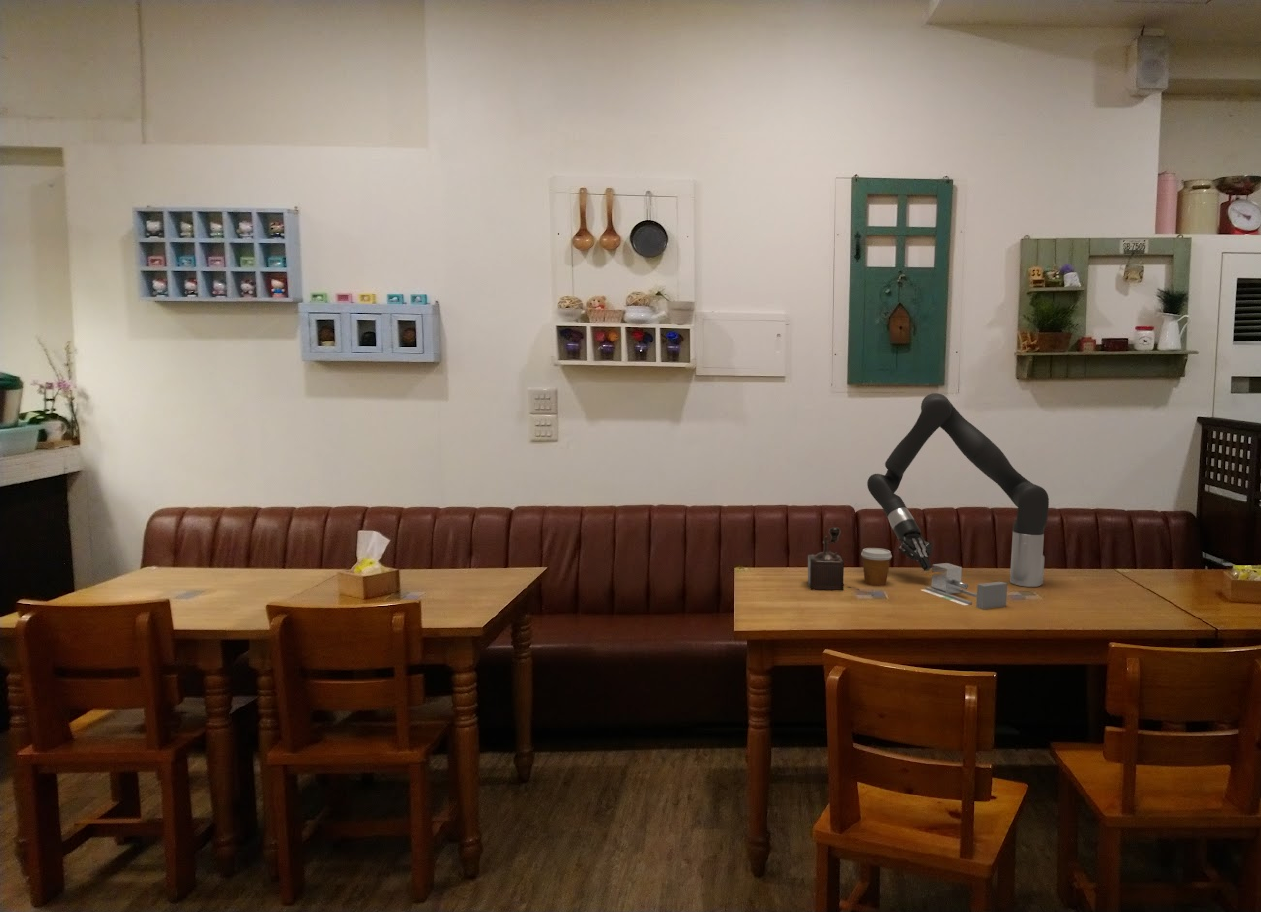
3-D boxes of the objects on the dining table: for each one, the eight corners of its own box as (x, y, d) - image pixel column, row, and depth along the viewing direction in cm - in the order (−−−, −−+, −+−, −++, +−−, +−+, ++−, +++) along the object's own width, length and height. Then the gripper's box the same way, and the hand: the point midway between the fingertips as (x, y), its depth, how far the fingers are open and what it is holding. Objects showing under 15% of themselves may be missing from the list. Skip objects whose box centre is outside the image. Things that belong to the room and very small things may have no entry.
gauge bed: (950, 589, 256) (952, 564, 255) (1012, 610, 234) (1014, 582, 233) (916, 593, 251) (917, 568, 250) (976, 615, 229) (977, 587, 228)
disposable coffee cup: (892, 592, 253) (893, 554, 252) (861, 590, 255) (862, 553, 253) (888, 584, 262) (890, 548, 261) (858, 582, 264) (860, 546, 263)
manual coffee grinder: (845, 591, 253) (848, 535, 252) (810, 590, 255) (812, 534, 253) (838, 579, 269) (840, 526, 267) (804, 577, 270) (806, 525, 268)
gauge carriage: (946, 587, 253) (947, 562, 252) (973, 596, 243) (974, 570, 242) (918, 591, 249) (919, 565, 248) (945, 600, 238) (946, 574, 238)
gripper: (893, 519, 260) (918, 564, 250) (925, 517, 265) (950, 561, 255) (881, 532, 266) (905, 577, 256) (913, 529, 271) (937, 573, 261)
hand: (928, 569), depth 256 cm, fingers closed
